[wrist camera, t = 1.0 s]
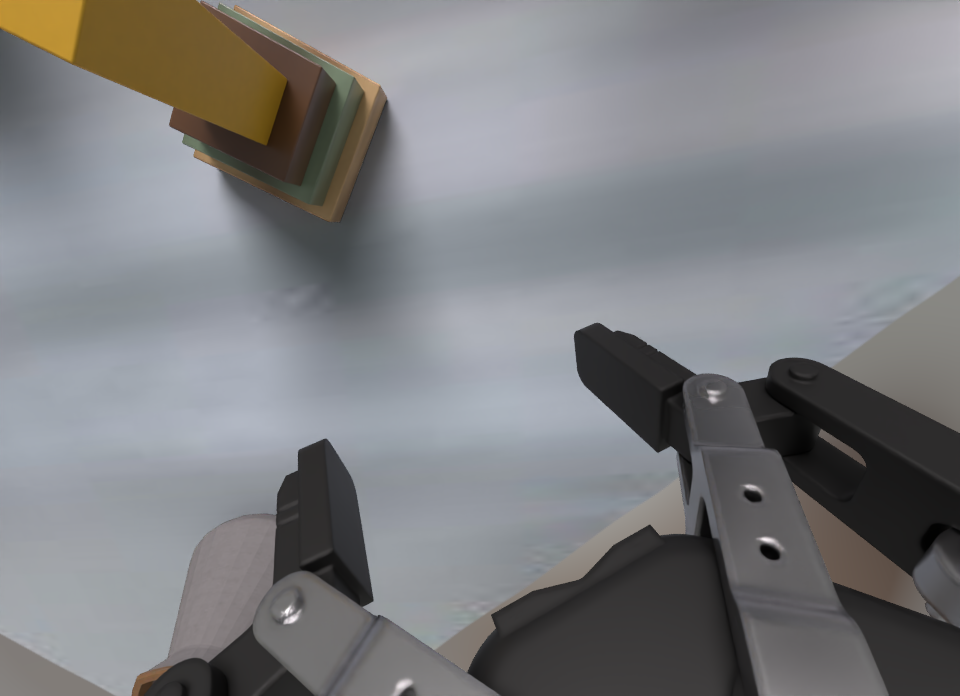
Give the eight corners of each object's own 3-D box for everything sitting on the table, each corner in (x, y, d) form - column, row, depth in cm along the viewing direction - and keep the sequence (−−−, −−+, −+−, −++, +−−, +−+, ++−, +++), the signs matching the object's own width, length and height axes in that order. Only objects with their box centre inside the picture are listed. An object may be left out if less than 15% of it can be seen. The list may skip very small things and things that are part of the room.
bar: (201, 113, 20) (-77, -10, 10) (220, 42, 19) (-61, -174, 9) (267, 146, 21) (72, 64, 10) (288, 79, 20) (100, -84, 10)
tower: (215, 162, 28) (130, 140, 20) (255, 24, 25) (175, -55, 18) (340, 222, 29) (301, 221, 22) (387, 97, 27) (362, 51, 20)
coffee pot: (266, 473, 35) (131, 646, 20) (364, 548, 38) (306, 747, 23) (120, 607, 38) (-84, 837, 24) (220, 668, 41) (92, 905, 27)
